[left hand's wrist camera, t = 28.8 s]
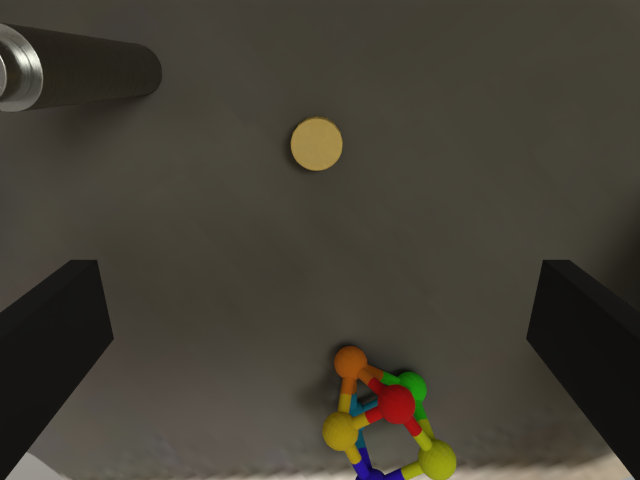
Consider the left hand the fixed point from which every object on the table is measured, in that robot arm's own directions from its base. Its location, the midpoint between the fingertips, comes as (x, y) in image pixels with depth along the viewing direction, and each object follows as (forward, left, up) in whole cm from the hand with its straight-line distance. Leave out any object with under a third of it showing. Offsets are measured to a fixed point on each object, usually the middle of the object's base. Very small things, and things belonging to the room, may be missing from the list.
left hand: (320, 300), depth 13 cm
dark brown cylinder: (+17, +6, -31) cm, 36 cm away
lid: (0, 0, -29) cm, 29 cm away
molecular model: (-24, +18, -31) cm, 43 cm away
